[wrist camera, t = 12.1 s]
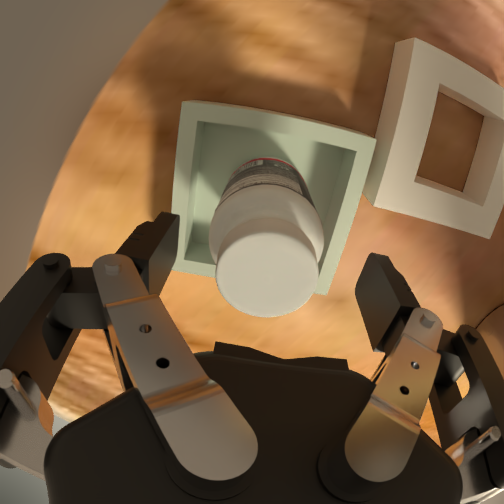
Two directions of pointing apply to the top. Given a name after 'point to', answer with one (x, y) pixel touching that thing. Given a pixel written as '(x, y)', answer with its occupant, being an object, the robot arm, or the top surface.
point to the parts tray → (258, 145)
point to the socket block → (415, 134)
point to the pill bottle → (266, 239)
